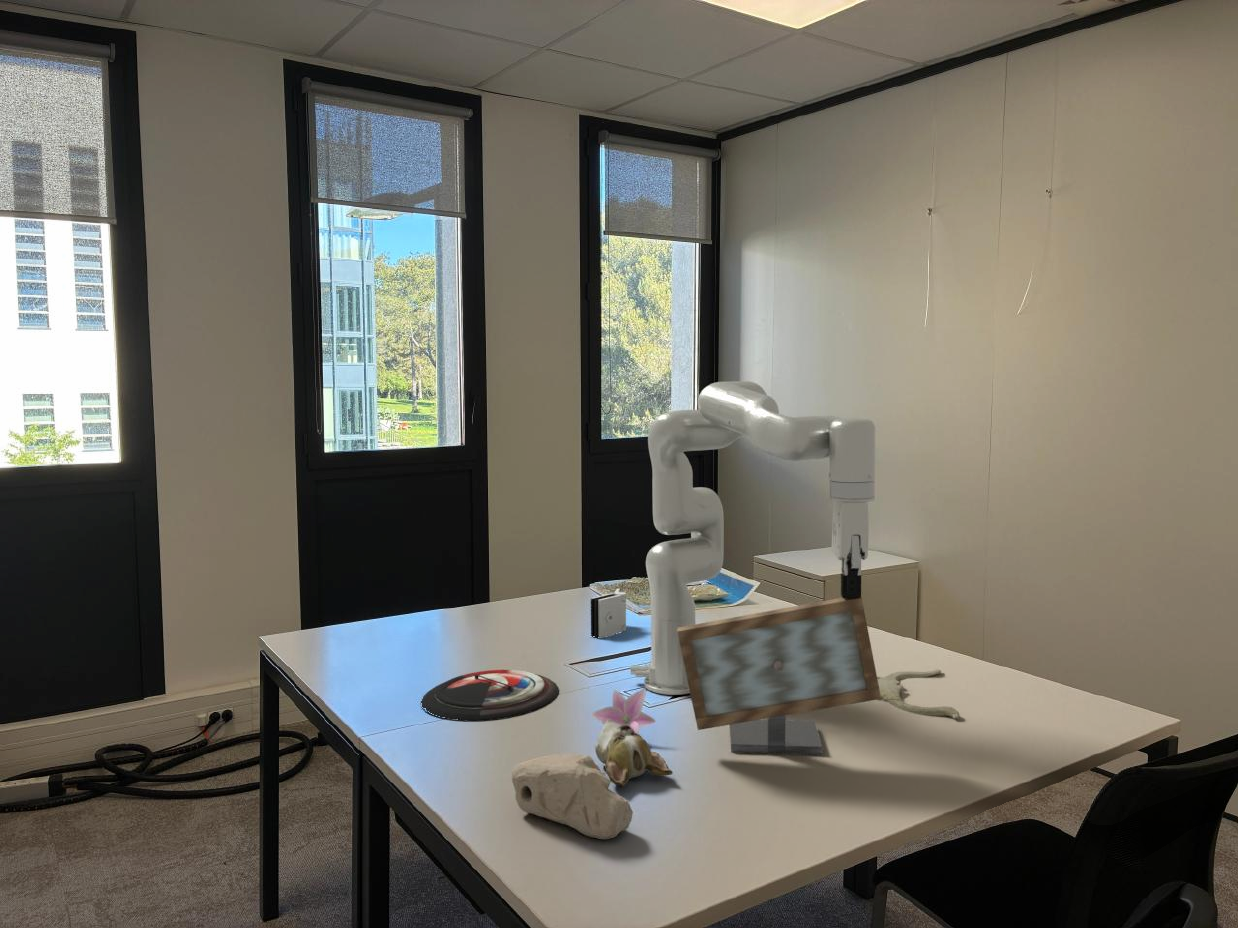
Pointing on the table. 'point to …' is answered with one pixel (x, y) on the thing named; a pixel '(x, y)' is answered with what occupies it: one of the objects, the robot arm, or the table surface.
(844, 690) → the picture frame
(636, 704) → the lily
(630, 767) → the ceramic sculpture
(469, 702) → the wall clock
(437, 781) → the table surface
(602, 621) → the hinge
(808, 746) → the frame stand
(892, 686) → the decorative wall piece
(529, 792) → the decorative stone
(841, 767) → the table surface
